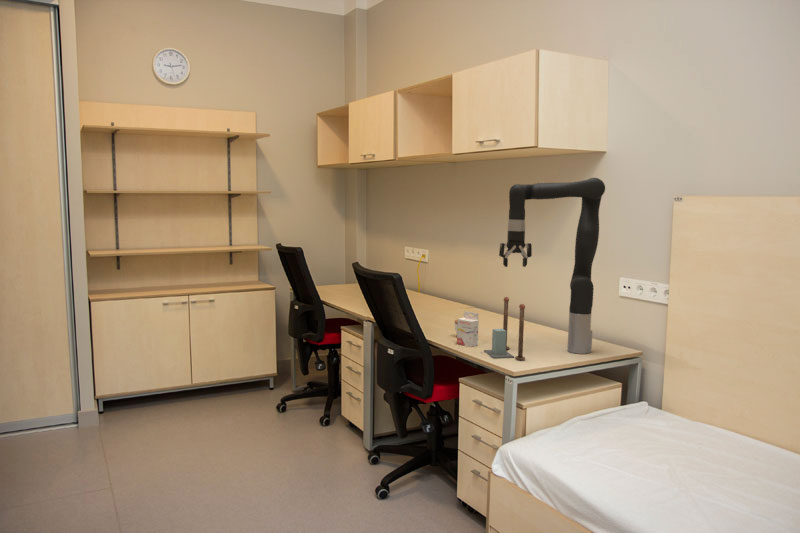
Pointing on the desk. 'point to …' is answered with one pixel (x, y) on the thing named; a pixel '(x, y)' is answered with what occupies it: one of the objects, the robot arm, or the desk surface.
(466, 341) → the ink cartridge box
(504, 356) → the mat
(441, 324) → the desk surface
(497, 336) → the block
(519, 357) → the post
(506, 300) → the post
